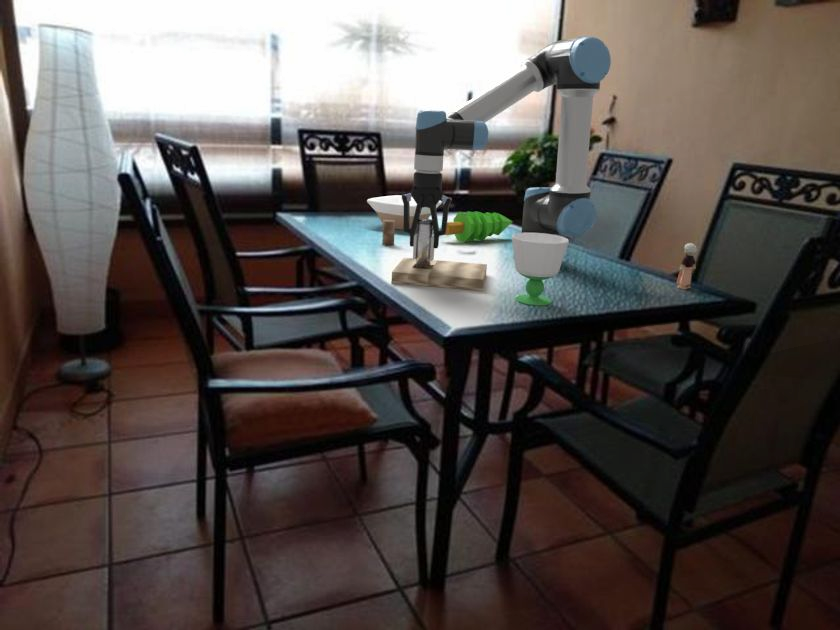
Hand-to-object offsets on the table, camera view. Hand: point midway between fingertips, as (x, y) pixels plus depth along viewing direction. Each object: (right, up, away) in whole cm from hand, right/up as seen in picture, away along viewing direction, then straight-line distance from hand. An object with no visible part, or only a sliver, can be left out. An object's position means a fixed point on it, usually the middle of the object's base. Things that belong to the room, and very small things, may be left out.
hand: (423, 258), depth 174 cm
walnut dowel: (-12, +9, +43) cm, 45 cm away
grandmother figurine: (+73, -8, +5) cm, 73 cm away
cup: (+27, -12, -15) cm, 34 cm away
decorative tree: (+21, +12, +58) cm, 63 cm away
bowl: (-7, +19, +77) cm, 80 cm away
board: (+5, -5, +1) cm, 7 cm away
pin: (0, -2, +1) cm, 2 cm away
